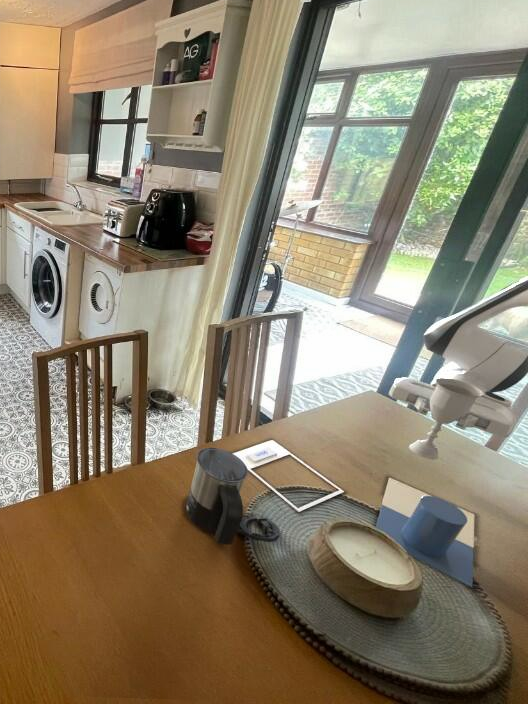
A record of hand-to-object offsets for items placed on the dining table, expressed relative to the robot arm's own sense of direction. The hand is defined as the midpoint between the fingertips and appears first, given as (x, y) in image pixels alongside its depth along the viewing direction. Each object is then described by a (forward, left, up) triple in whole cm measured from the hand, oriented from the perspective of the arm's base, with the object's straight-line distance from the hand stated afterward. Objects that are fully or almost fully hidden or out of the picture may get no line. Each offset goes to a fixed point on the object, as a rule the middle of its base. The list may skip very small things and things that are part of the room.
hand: (442, 418), depth 90 cm
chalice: (-1, -1, -10) cm, 10 cm away
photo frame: (+31, +1, -17) cm, 35 cm away
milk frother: (+50, +15, -17) cm, 54 cm away
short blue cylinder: (+14, +19, -16) cm, 28 cm away
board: (+10, +15, -17) cm, 24 cm away
